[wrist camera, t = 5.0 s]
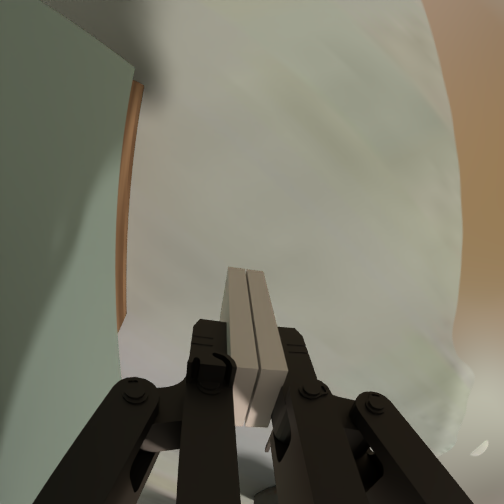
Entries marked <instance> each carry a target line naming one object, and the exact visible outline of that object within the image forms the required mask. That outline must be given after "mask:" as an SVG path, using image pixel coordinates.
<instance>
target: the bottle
mask: <svg viewBox="0 0 504 504" xmlns="http://www.w3.org/2000/svg"><path fill="white" fill-rule="evenodd" d="M254 504H279V502H278V495H277V488H276V486H275V487H271V488H267V489H265V490H263V491H262V492H260V493H258V494H256V496H255V498H254Z"/></svg>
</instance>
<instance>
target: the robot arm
mask: <svg viewBox="0 0 504 504" xmlns="http://www.w3.org/2000/svg"><path fill="white" fill-rule="evenodd" d="M305 346H306V345H305V342H304V339H303V336H302V335H301V334H300V333H299V332H298V331H297V330H296V329H295V328H286V327H277V324H276V320H275V316H274V312H273V308H272V304H271V300H270V296H269V292H268V288H267V284H266V280H265V276H264V272H263V271H256V270H248V269H247V271H246V273H245V269H241V268H234V267H228V271H227V278H226V284H225V290H224V296H223V302H222V308H221V314H220V321H212V320H205V319H200V320H199V321H198V322H197V323H196V324H195V325H194V326H193V333H192V341H191V349H190V356H189V360H188V362H187V374H186V377H185V378H184V380H183V381H181V382H180V383H179V384H176V385H174V386H170V387H163V388H156V387H155V385H154V384H153V383H151V382H150V381H148V380H146V379H143V378H138V377H130V378H125V379H122V380H120V381H118V382H117V383H116V384H115V385H114V386H113V387H112V389H111V390H110V391H109V393H108V394H107V395H106V397H105V398H104V400H103V401H102V402H101V404H100V405H99V407H98V408H97V409H96V411H95V412H94V414H93V415H92V417H91V418H90V419H89V421H88V422H87V424H86V425H85V426H84V428H83V429H82V431H81V432H80V434H79V435H78V436H77V438H76V439H75V441H74V442H73V444H72V445H71V447H70V448H69V449H68V451H67V452H66V454H65V455H64V457H63V458H62V460H61V461H60V463H59V464H58V466H57V467H56V469H55V470H54V472H53V473H52V475H51V476H50V477H49V479H48V480H47V482H46V483H45V485H44V486H43V488H42V490H41V491H40V493H39V494H38V496H37V497H36V499H35V500H34V502H33V503H32V504H136V503H137V501H138V499H139V496H140V494H141V492H142V490H143V488H144V486H145V483H146V481H147V479H148V477H149V475H150V473H151V470H152V468H153V466H154V464H155V462H156V459H157V457H158V455H159V453H160V451H167V450H174V449H180V452H179V466H178V481H177V499H176V504H241V500H240V488H239V475H238V461H237V447H236V433H235V426H243V423H244V420H245V426H246V427H268V425H269V423H270V420H271V419H272V425H273V430H272V432H271V435H270V437H269V440H268V442H267V444H266V447H265V452H268V451H269V449H270V447H271V452H272V460H273V467H274V474H275V481H276V488H277V495H278V502H279V504H473V502H472V501H471V500H470V499H469V497H468V496H467V495H466V494H465V492H464V491H463V490H462V489H461V487H460V486H459V485H458V484H457V482H456V481H455V480H454V479H453V477H452V476H451V475H450V474H449V472H448V471H447V470H446V469H445V467H444V466H443V465H442V464H441V462H440V461H439V460H438V459H437V458H436V456H435V455H434V454H433V453H432V451H431V450H430V449H429V448H428V446H427V445H426V444H425V443H424V442H423V440H422V439H421V438H420V437H419V435H418V434H417V433H416V432H415V431H414V429H413V428H412V427H411V426H410V424H409V423H408V422H407V421H406V420H405V418H404V417H403V416H402V415H401V414H400V412H399V411H398V410H397V409H396V407H395V406H394V405H393V404H392V403H391V401H390V400H388V399H387V398H386V397H385V396H383V395H381V394H379V393H376V392H363V393H361V394H359V396H358V397H357V398H356V400H350V399H346V398H341V397H338V396H335V395H332V393H331V391H330V390H329V388H328V386H327V385H325V384H324V383H323V382H322V381H319V380H317V377H316V374H315V371H314V368H313V365H312V362H311V360H310V357H309V354H308V351H307V348H306V347H305ZM370 447H371V448H372V450H373V451H374V452H372V451H371V450H370Z"/></svg>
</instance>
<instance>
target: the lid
mask: <svg viewBox="0 0 504 504" xmlns="http://www.w3.org/2000/svg"><path fill="white" fill-rule="evenodd" d="M134 70H135V67H133V66H132V65H131V64H130V63H128V62H127V61H126V60H124V59H123V58H122V57H120V56H119V55H118V54H116V53H115V52H114V51H112V50H111V49H109V48H108V47H107V46H105V45H104V44H103V43H101V42H100V41H98V40H97V39H96V38H94V37H93V36H92V35H90V34H89V33H87V32H86V31H84V30H83V29H82V28H80V27H79V26H77V25H76V24H74V23H73V22H71V21H70V20H69V19H67V18H66V17H64V16H63V15H61V14H60V13H58V12H57V11H55V10H54V9H52V8H51V7H49V6H47V5H46V4H44V3H43V2H41V1H40V0H0V504H32V503H33V502H34V500H35V499H36V497H37V496H38V494H39V493H40V491H41V490H42V488H43V486H44V485H45V483H46V482H47V480H48V479H49V477H50V476H51V475H52V473H53V472H54V470H55V469H56V467H57V466H58V464H59V463H60V461H61V460H62V458H63V457H64V455H65V454H66V452H67V451H68V449H69V448H70V447H71V445H72V444H73V442H74V441H75V439H76V438H77V436H78V435H79V434H80V432H81V431H82V429H83V428H84V426H85V425H86V424H87V422H88V421H89V419H90V418H91V417H92V415H93V414H94V412H95V411H96V409H97V408H98V407H99V405H100V404H101V402H102V401H103V400H104V398H105V397H106V395H107V394H108V393H109V391H110V390H111V389H112V387H113V386H114V385H115V384H116V383H117V382H118V381H120V380H121V370H120V360H119V348H118V335H117V317H116V289H115V245H116V216H117V199H118V185H119V173H120V163H121V154H122V145H123V137H124V129H125V122H126V115H127V109H128V103H129V97H130V91H131V86H132V80H133V75H134Z"/></svg>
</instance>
